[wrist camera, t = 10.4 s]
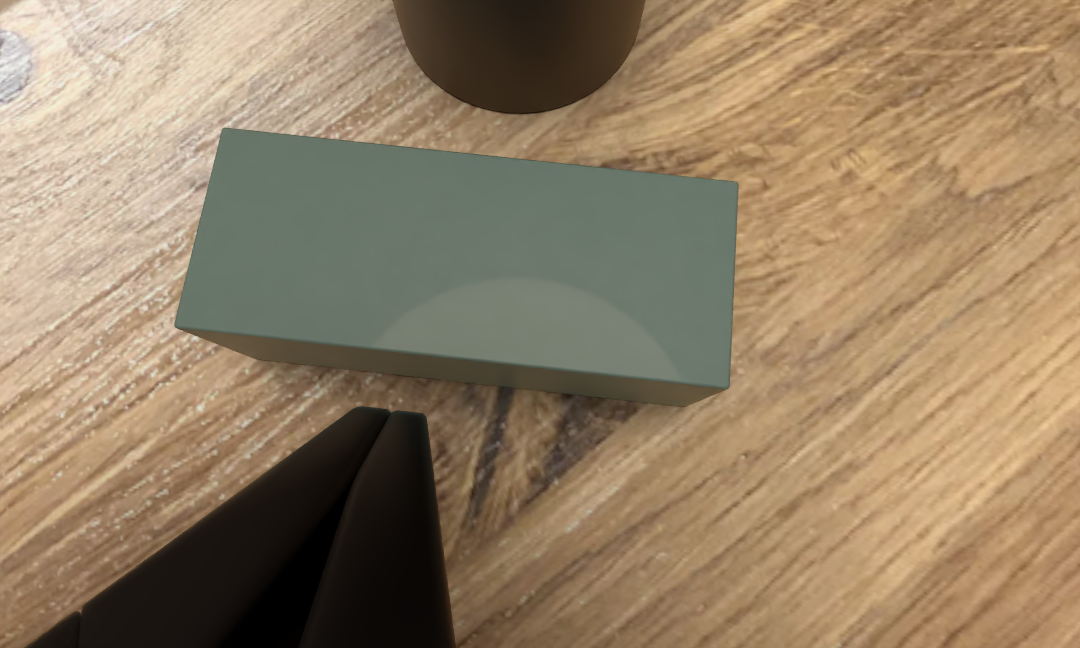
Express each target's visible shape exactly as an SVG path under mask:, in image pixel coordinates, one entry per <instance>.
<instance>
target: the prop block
mask: <svg viewBox="0 0 1080 648" xmlns="http://www.w3.org/2000/svg"><path fill="white" fill-rule="evenodd" d="M737 207H738V182H734V181H724V180H715V179H705V178H696V177H686V176H677V175H667V174H658V173H649V172H639V171H630V170H620V169H611V168H601V167H592V166H582V165H573V164H563V163H554V162H544V161H535V160H525V159H516V158H507V157H497V156H488V155H478V154H469V153H459V152H450V151H440V150H431V149H421V148H412V147H402V146H393V145H383V144H374V143H365V142H355V141H346V140H336V139H327V138H317V137H308V136H298V135H289V134H279V133H270V132H260V131H251V130H241V129H232V128H223V129H222V132H221V136H220V140H219V145H218V149H217V153H216V157H215V161H214V165H213V169H212V173H211V177H210V181H209V185H208V189H207V193H206V197H205V202H204V206H203V210H202V214H201V218H200V222H199V226H198V230H197V234H196V238H195V242H194V246H193V250H192V254H191V259H190V263H189V267H188V271H187V275H186V279H185V283H184V287H183V291H182V295H181V299H180V303H179V307H178V311H177V315H176V320H175V324H174V326H175V327H176V328H177V329H180V330H183V331H185V332H188V333H190V334H193V335H195V336H198V337H200V338H203V339H206V340H208V341H211V342H213V343H216V344H218V345H221V346H223V347H226V348H228V349H231V350H234V351H236V352H239V353H241V354H244V355H246V356H249V357H251V358H254V359H259V360H268V361H277V362H286V363H295V364H304V365H313V366H322V367H331V368H340V369H349V370H358V371H367V372H375V373H384V374H393V375H402V376H411V377H420V378H429V379H438V380H447V381H456V382H465V383H474V384H483V385H492V386H501V387H510V388H519V389H528V390H537V391H546V392H554V393H563V394H572V395H581V396H590V397H599V398H608V399H617V400H626V401H635V402H644V403H653V404H662V405H671V406H680V407H685V406H688V405H690V404H693V403H695V402H697V401H700V400H702V399H705V398H707V397H709V396H712V395H714V394H717V393H719V392H722V391H724V390H726V389H729V386H730V365H731V342H732V320H733V297H734V275H735V252H736V230H737Z"/></svg>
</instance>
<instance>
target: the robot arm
mask: <svg viewBox="0 0 1080 648" xmlns="http://www.w3.org/2000/svg"><path fill="white" fill-rule="evenodd" d="M24 648H456V643H455V635H454V627H453V620H452V612H451V604H450V596H449V588H448V581H447V573H446V565H445V557H444V550H443V542H442V534H441V526H440V519H439V511H438V503H437V495H436V487H435V480H434V472H433V464H432V456H431V449H430V441H429V433H428V425H427V419H426V416H425V415H424V414H423V413H416V412H407V411H394V412H392V413H391V412H389V411H388V410H387V409H381V408H372V407H363V406H362V407H356V408H354V409H352V410H351V411H350V412H348V413H347V414H345V415H344V416H343V417H341V418H340V419H339V420H337V421H336V422H334V423H333V424H332V425H330V426H329V427H327V428H326V429H325V430H323V431H322V432H321V433H319V434H318V435H316V436H315V437H314V438H312V439H311V440H310V441H308V442H307V443H305V444H304V445H303V446H301V447H300V448H299V449H297V450H296V451H294V452H293V453H292V454H290V455H289V456H288V457H286V458H285V459H283V460H282V461H281V462H279V463H278V464H277V465H275V466H274V467H272V468H271V469H270V470H268V471H267V472H266V473H264V474H263V475H261V476H260V477H259V478H257V479H256V480H255V481H253V482H252V483H250V484H249V485H248V486H246V487H245V488H244V489H242V490H241V491H239V492H238V493H237V494H235V495H234V496H233V497H231V498H230V499H228V500H227V501H226V502H224V503H223V504H222V505H220V506H219V507H217V508H216V509H215V510H213V511H212V512H211V513H209V514H208V515H206V516H205V517H204V518H202V519H201V520H200V521H198V522H197V523H195V524H194V525H193V526H191V527H190V528H189V529H187V530H186V531H184V532H183V533H182V534H180V535H179V536H178V537H176V538H175V539H173V540H172V541H171V542H169V543H168V544H166V545H165V546H164V547H162V548H161V549H160V550H158V551H157V552H155V553H154V554H153V555H151V556H150V557H149V558H147V559H146V560H144V561H143V562H142V563H140V564H139V565H138V566H136V567H135V568H133V569H132V570H131V571H129V572H128V573H127V574H125V575H124V576H122V577H121V578H120V579H118V580H117V581H116V582H114V583H113V584H111V585H110V586H109V587H107V588H106V589H105V590H103V591H102V592H100V593H99V594H98V595H96V596H95V597H94V598H92V599H91V600H89V601H88V602H87V603H85V604H84V605H83V607H82V611H81V613H80V612H78V611H76V612H73V613H71V614H70V615H68V616H67V617H66V618H64V619H63V620H61V621H60V622H59V623H57V624H56V625H55V626H53V627H52V628H50V629H49V630H48V631H46V632H45V633H44V634H42V635H41V636H39V637H38V638H37V639H35V640H34V641H32V642H31V643H30V644H28V645H27V646H25V647H24Z"/></svg>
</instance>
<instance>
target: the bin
mask: <svg viewBox="0 0 1080 648" xmlns="http://www.w3.org/2000/svg"><path fill="white" fill-rule="evenodd" d="M392 1H393V4H394V7H395V11H396V14H397V17H398V21H399V24H400V27H401V31H402V34H403V36H404V39H405V42H406V45H407V47H408V49H409V51H410V52H411V54H412V56H413V58H414V60H415V61H416V62H417V64H418V65H419V66H420V68H421V69H422V70H423V71H424V72H425V73H426V74H427V75H428V76H429V77H430V78H431V79H432V80H433V81H434V82H435V83H436V84H438V85H439V86H440V87H441V88H443V89H444V90H445V91H447V92H449V93H450V94H452V95H454V96H455V97H457V98H459V99H461V100H463V101H466V102H468V103H470V104H473V105H475V106H479V107H482V108H486V109H489V110H495V111H501V112H512V113H528V112H539V111H545V110H550V109H555V108H558V107H561V106H564V105H567V104H570V103H572V102H574V101H576V100H579V99H581V98H583V97H585V96H586V95H588V94H590V93H591V92H593V91H594V90H596V89H597V88H599V87H600V86H601V85H602V84H603V83H605V82H606V81H607V80H608V79H609V78H610V77H611V76H612V75H613V74H614V73H615V72H616V71H617V70H618V69H619V68H620V66H621V65H622V63H623V62H624V60H625V59H626V57H627V56H628V54H629V52H630V50H631V48H632V46H633V44H634V42H635V39H636V36H637V33H638V29H639V25H640V21H641V17H642V13H643V8H644V4H645V0H392Z"/></svg>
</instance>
